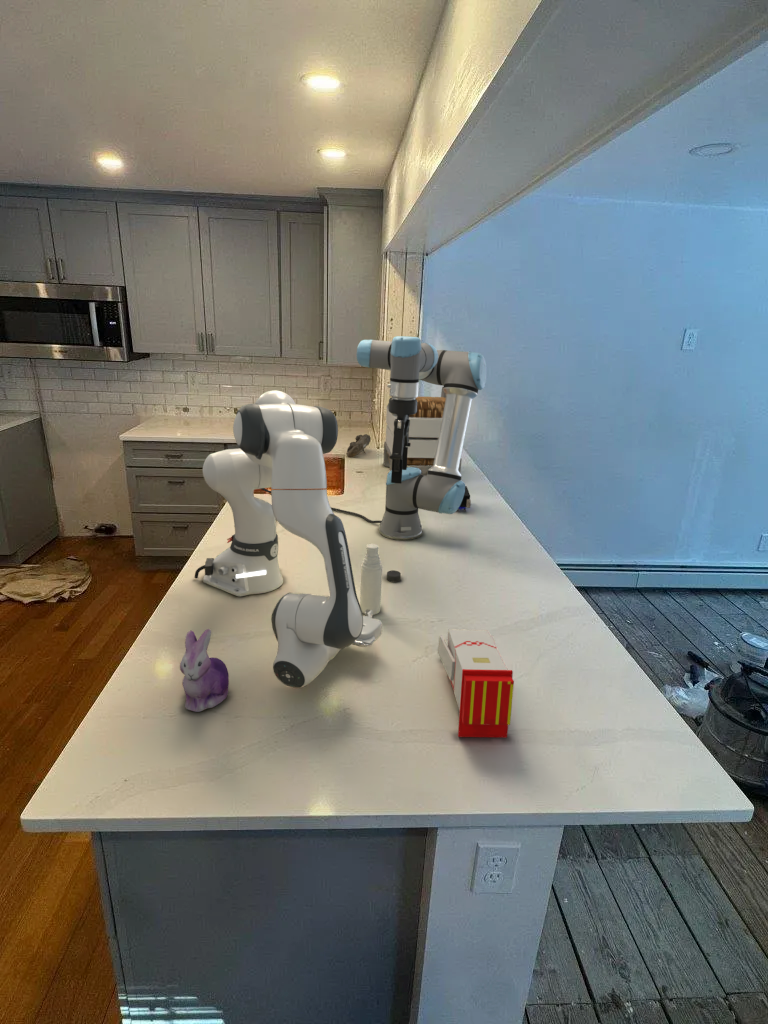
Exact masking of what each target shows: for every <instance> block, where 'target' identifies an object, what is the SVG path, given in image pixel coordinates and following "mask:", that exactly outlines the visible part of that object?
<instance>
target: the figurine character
mask: <svg viewBox="0 0 768 1024" xmlns="http://www.w3.org/2000/svg"><path fill="white" fill-rule="evenodd" d="M471 501H472V500H471V494H470V491H469V488H468V486H467V485H465V493H464V497H463V500H462V502H461V505H460V506H459V508H458V509H457V511H456V512H460V510H463V511H464V513H466V512H467V509H470V508H471V505H472V504H471ZM466 508H467V509H466Z"/></svg>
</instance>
